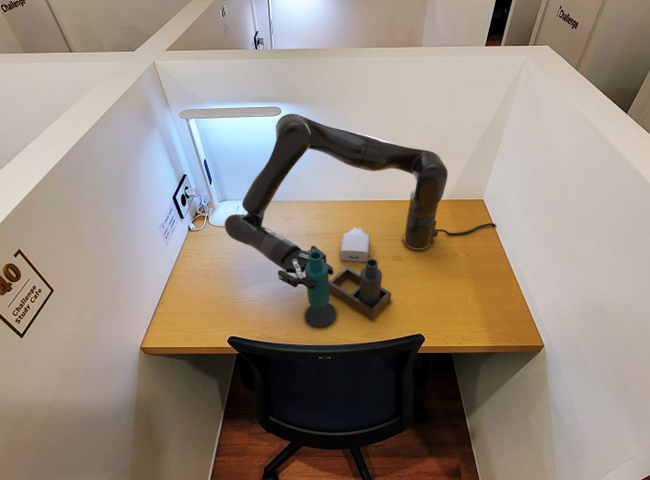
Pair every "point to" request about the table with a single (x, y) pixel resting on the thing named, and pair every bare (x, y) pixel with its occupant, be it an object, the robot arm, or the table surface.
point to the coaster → (320, 316)
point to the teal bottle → (317, 280)
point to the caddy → (357, 293)
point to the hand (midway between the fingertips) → (323, 279)
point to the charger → (355, 245)
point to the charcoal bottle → (370, 283)
